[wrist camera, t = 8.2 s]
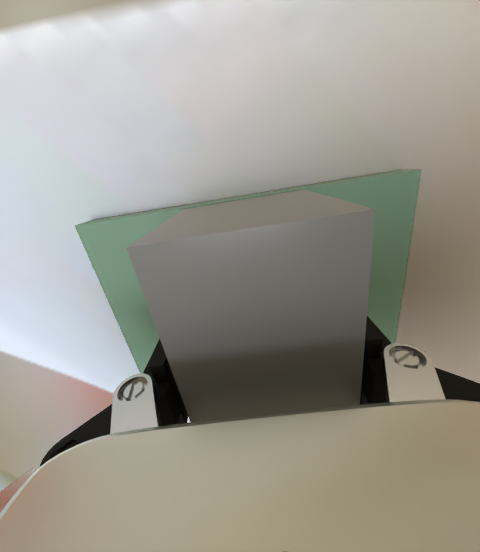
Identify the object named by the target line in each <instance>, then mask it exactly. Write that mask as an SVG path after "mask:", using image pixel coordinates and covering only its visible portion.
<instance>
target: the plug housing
mask: <svg viewBox="0 0 480 552" xmlns="http://www.w3.org/2000/svg"><path fill="white" fill-rule="evenodd" d="M374 221H375V209H374V208H370V207H367V206H363V205H359V204H356V203H352V202H348V201H345V200H341V199H337V198H334V197H330V196H327V195H323V194H319V193H316V192H312V191H308V190H305V189H304V190H298V191H291V192H285V193H279V194H273V195H267V196H261V197H255V198H249V199H243V200H236V201H230V202H224V203H218V204H212V205H206V206H200V207H194V208H188V209H183V210H181V211H180V212H178V213H177V214H175V215H174V216H172V217H171V218H169V219H168V220H167V221H165V222H164V223H162V224H161V225H159V226H158V227H156V228H155V229H153V230H152V231H150V232H149V233H147V234H146V235H144V236H143V237H141V238H140V239H138V240H137V241H135V242H134V243H132V244H131V245H129V246H128V247H126V249H127V251H128V254H129V257H130V260H131V262H132V265H133V268H134V270H135V273H136V276H137V278H138V281H139V284H140V287H141V289H142V292H143V295H144V297H145V300H146V303H147V305H148V308H149V311H150V314H151V316H152V319H153V322H154V324H155V327H156V330H157V332H158V335H159V338H160V340H161V343H162V346H163V349H164V351H165V354H166V357H167V359H168V362H169V365H170V367H171V370H172V373H173V376H174V378H175V381H176V384H177V386H178V389H179V392H180V394H181V397H182V400H183V403H184V405H185V408H186V411H187V413H188V416H189V419H190V421H191V423H192V422H201V421H210V420H219V419H228V418H237V417H246V416H256V415H265V414H275V413H284V412H294V411H304V410H313V409H324V408H334V407H344V406H354V405H360V395H361V383H362V371H363V358H364V346H365V333H366V321H367V308H368V296H369V283H370V271H371V258H372V246H373V234H374Z"/></svg>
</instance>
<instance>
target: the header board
mask: <svg viewBox="0 0 480 552" xmlns="http://www.w3.org/2000/svg"><path fill="white" fill-rule="evenodd" d="M420 174H421V170H395V171H389V172H383V173H377V174H371V175H365V176H359V177H352V178H346V179H340V180H334V181H328V182H322V183H316V184H310V185H303V186H297V187H291V188H285V189H279V190H273V191H267V192H260V193H254V194H248V195H242V196H236V197H230V198H224V199H218V200H211V201H205V202H199V203H193V204H187V205H181V206H175V207H168V208H162V209H156V210H150V211H144V212H138V213H132V214H125V215H119V216H113V217H107V218H101V219H95V220H91V221H88V222H85V223H82V224H79V225H76V226H75V227H76V230H77V232H78V234H79V236H80V239H81V241H82V243H83V245H84V248H85V250H86V252H87V254H88V257H89V259H90V261H91V263H92V266H93V268H94V270H95V272H96V275H97V277H98V279H99V281H100V284H101V286H102V288H103V290H104V293H105V295H106V297H107V299H108V302H109V304H110V306H111V308H112V311H113V313H114V315H115V317H116V320H117V322H118V324H119V326H120V329H121V331H122V333H123V335H124V337H125V340H126V342H127V344H128V346H129V349H130V351H131V353H132V355H133V358H134V360H135V362H136V364H137V367H138V369H139V371H140V373H141V374H142V373H143V372H144V370H145V368H146V366H147V364H148V362H149V359H150V357H151V355H152V353H153V351H154V349H155V347H156V345H157V343H158V341H159V339H160V338H159V335H158V332H157V330H156V327H155V324H154V322H153V319H152V316H151V314H150V311H149V308H148V305H147V303H146V300H145V297H144V295H143V292H142V289H141V287H140V284H139V281H138V278H137V276H136V273H135V270H134V268H133V265H132V262H131V260H130V257H129V254H128V251H127V249H126V247H128V246H129V245H131V244H132V243H134V242H135V241H137V240H138V239H140V238H141V237H143V236H144V235H146V234H147V233H149V232H150V231H152V230H153V229H155V228H156V227H158V226H159V225H161V224H162V223H164V222H165V221H167V220H168V219H169V218H171V217H172V216H174V215H175V214H177V213H178V212H180V211H181V210H183V209H188V208H194V207H200V206H206V205H212V204H218V203H224V202H230V201H236V200H243V199H249V198H255V197H261V196H267V195H273V194H279V193H285V192H291V191H298V190H304V189H305V190H308V191H312V192H316V193H319V194H323V195H327V196H330V197H334V198H337V199H341V200H345V201H348V202H352V203H356V204H359V205H363V206H367V207H370V208H374V209H375V221H374V234H373V246H372V258H371V271H370V283H369V296H368V308H367V316H368V317H369V318H370V319H371V320H372V321H373V323H374V324H375V325H376V326H377V327H378V328H379V329H380V330H381V332H382V333H383V334H384V335H385V336H386V337H387V338H388V339H389V341H390V342H391V343H392V344H393V343H395V341H396V335H397V328H398V321H399V315H400V308H401V301H402V295H403V288H404V281H405V274H406V268H407V261H408V254H409V248H410V241H411V234H412V228H413V221H414V214H415V208H416V201H417V194H418V188H419V181H420Z"/></svg>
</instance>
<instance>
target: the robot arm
mask: <svg viewBox="0 0 480 552" xmlns="http://www.w3.org/2000/svg"><path fill="white" fill-rule="evenodd" d="M188 417H189V416H188V413H187V411H186V408H185V405H184V403H183V400H182V397H181V394H180V392H179V389H178V386H177V384H176V381H175V378H174V376H173V373H172V370H171V367H170V365H169V362H168V359H167V357H166V354H165V351H164V349H163V346H162V343H161V340H160V339H159V341H158V343H157V345H156V347H155V349H154V351H153V353H152V355H151V357H150V359H149V362H148V364H147V366H146V368H145V370H144V372H143V373H142V374H136V375H133V376H131V377H129V378H127V379H126V380H124V381H123V382H122V383H121V384H120V385H119V386H118V387H117V388H116V390H115V391H114V394H113V401H112V404H111V405H110V406H109V407H107V408H106V409H104V410H103V411H102V412H100V413H99V414H97V415H96V416H94V417H93V418H91V419H90V420H89V421H87V422H86V423H84V424H83V425H81V426H80V427H79V428H77V429H76V430H74V431H73V432H71V433H70V434H69V435H67V436H66V437H64V438H63V439H61V440H60V441H59V442H58V443H56V444H55V445H54V446H53V447H52V448H51V449H50V450H49V451H48V453H47V454H46V455H45V457H44V458H43V460H42V462H41V465H40V467H39V468H38V469H36V470H35V469H34V468H32V469H30V470H29V471H27V472H26V473H25V474H23V475H22V476H21V477H19V478H18V479H17V480H15V481H14V482H13V483H11V484H10V485H9V486H7V487H6V488H4V489H3V490H2V491H0V552H480V384H479V383H477V382H474V381H471V380H468V379H465V378H463V377H460V376H457V375H454V374H452V373H449V372H446V371H443V370H441V369H438V368H435V367H434V364H433V361H432V359H431V358H430V356H429V355H428V354H427V353H426V352H425V351H423V350H421V349H420V348H418V347H415V346H413V345H409V344H405V343H393V344H392V343H391V342H390V341H389V339H388V338H387V337H386V336H385V335H384V334H383V333H382V332H381V330H380V329H379V328H378V327H377V326H376V325H375V324H374V323H373V321H372V320H371V319H370V318H369V317H368V316H367V321H366V333H365V346H364V358H363V371H362V383H361V395H360V405H354V406H344V407H334V408H324V409H313V410H304V411H294V412H284V413H275V414H265V415H256V416H246V417H237V418H228V419H219V420H210V421H201V422H192V423H187V419H188Z"/></svg>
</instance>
